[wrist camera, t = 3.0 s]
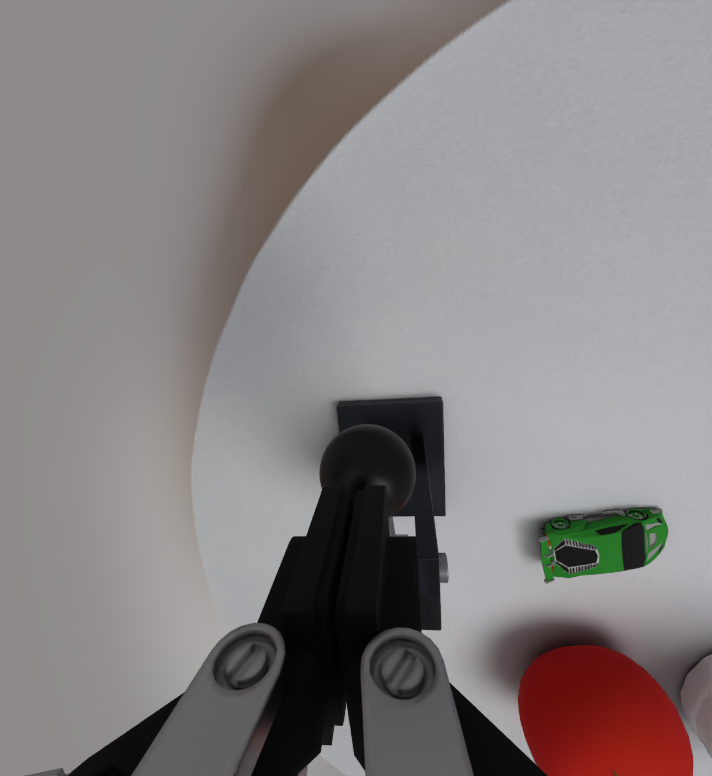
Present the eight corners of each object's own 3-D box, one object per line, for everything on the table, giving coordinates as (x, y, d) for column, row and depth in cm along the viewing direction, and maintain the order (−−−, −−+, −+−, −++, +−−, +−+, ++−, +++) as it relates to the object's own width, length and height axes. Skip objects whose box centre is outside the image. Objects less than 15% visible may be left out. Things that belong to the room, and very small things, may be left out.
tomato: (532, 717, 39) (576, 871, 30) (487, 637, 37) (519, 777, 27) (657, 691, 36) (751, 852, 27) (618, 602, 34) (708, 745, 24)
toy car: (662, 501, 30) (682, 520, 28) (664, 549, 32) (683, 571, 29) (529, 520, 32) (538, 538, 30) (536, 565, 33) (545, 586, 31)
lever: (316, 407, 13) (303, 496, 11) (412, 402, 13) (418, 494, 10) (362, 545, 23) (360, 606, 20) (418, 545, 22) (421, 608, 20)
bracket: (338, 401, 31) (292, 508, 18) (441, 396, 30) (473, 505, 17) (350, 508, 34) (319, 666, 21) (444, 507, 33) (472, 673, 20)
